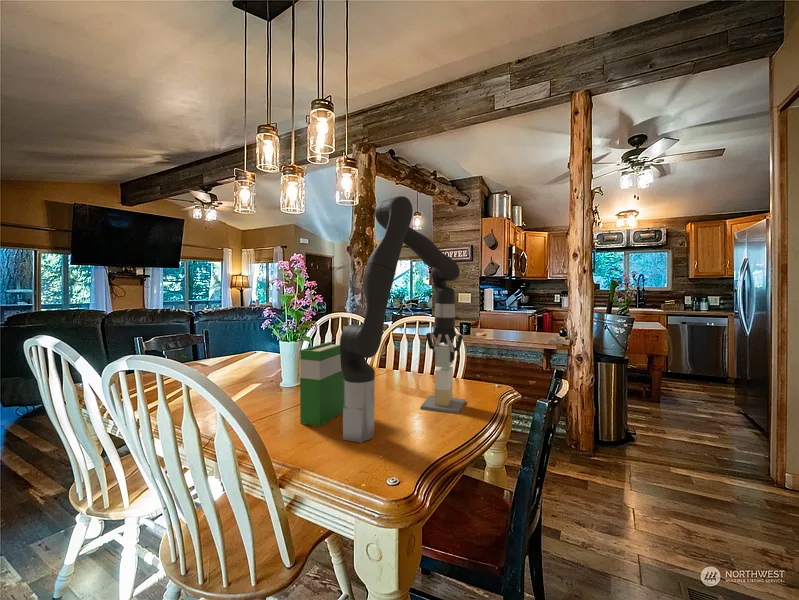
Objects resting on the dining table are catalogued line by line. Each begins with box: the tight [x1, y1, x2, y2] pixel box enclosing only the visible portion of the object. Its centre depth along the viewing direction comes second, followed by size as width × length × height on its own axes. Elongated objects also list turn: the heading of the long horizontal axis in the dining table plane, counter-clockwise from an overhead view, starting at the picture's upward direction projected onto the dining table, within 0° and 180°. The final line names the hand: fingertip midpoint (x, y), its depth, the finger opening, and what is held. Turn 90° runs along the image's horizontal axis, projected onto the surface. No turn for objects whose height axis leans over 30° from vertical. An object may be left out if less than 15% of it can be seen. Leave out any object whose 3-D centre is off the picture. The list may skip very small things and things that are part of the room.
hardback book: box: [299, 341, 344, 427], centre depth 126 cm, size 18×7×24 cm, turn 159°
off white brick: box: [434, 366, 454, 390], centre depth 138 cm, size 8×5×7 cm, turn 161°
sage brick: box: [434, 343, 454, 368], centre depth 138 cm, size 8×5×7 cm, turn 161°
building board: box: [420, 385, 466, 415], centre depth 138 cm, size 14×14×7 cm
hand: (444, 360), depth 138 cm, fingers closed on sage brick, 5 cm apart
